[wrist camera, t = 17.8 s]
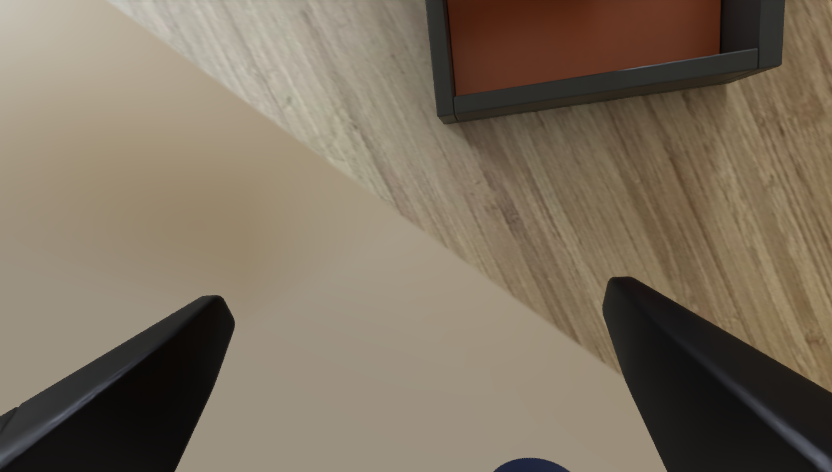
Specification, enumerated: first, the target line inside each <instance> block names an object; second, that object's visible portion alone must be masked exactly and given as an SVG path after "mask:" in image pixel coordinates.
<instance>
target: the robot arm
mask: <svg viewBox="0 0 832 472" xmlns="http://www.w3.org/2000/svg"><path fill="white" fill-rule="evenodd" d="M602 309H603V316H604V319H605V322H606V325H607V328H608V331H609V334H610V337H611V340H612V343H613V346H614V349H615V352H616V355H617V358H618V361H619V364H620V367H621V370H622V373H623V375H624V378H625V381H626V383H627V385H628V388H629V390H630V392H631V395H632V397H633V399H634V401H635V403H636V405H637V407H638V410H639V412H640V414H641V416H642V418H643V420H644V423H645V425H646V427H647V429H648V431H649V433H650V435H651V438H652V440H653V442H654V444H655V446H656V449H657V451H658V453H659V455H660V457H661V459H662V461H663V464H664V466H665V468H666V470H667V472H832V393H831V392H829V391H827V390H826V389H824V388H822V387H821V386H819V385H817V384H815V383H814V382H812V381H810V380H809V379H807V378H805V377H803V376H802V375H800V374H798V373H796V372H795V371H793V370H791V369H790V368H788V367H786V366H784V365H783V364H781V363H779V362H778V361H776V360H774V359H772V358H771V357H769V356H767V355H766V354H764V353H762V352H760V351H759V350H757V349H755V348H754V347H752V346H750V345H748V344H747V343H745V342H743V341H741V340H740V339H738V338H736V337H735V336H733V335H731V334H729V333H728V332H726V331H724V330H723V329H721V328H719V327H717V326H716V325H714V324H712V323H711V322H709V321H707V320H705V319H704V318H702V317H700V316H698V315H697V314H695V313H693V312H692V311H690V310H688V309H686V308H685V307H683V306H681V305H680V304H678V303H676V302H674V301H673V300H671V299H669V298H668V297H666V296H664V295H662V294H661V293H659V292H657V291H655V290H654V289H652V288H650V287H649V286H647V285H645V284H643V283H642V282H640V281H638V280H637V279H635V278H633V277H629V276H625V277H612V278H610V279H609V281H608V284H607V288H606V293H605V297H604V301H603V308H602ZM234 327H235V321H234V318H233V316H232V314H231V312H230V310H229V308H228V306H227V304H226V302H225V301H224V299H223V298H222V297H221V296H218V295H211V296H202V297H200V298H198V299H197V300H195V301H193V302H192V303H190V304H188V305H186V306H185V307H183V308H181V309H180V310H178V311H176V312H175V313H173V314H171V315H170V316H168V317H166V318H165V319H163V320H161V321H160V322H158V323H156V324H154V325H153V326H151V327H149V328H148V329H146V330H145V331H143V332H141V333H139V334H138V335H136V336H134V337H133V338H131V339H130V340H128V341H126V342H124V343H123V344H121V345H119V346H118V347H116V348H114V349H113V350H111V351H109V352H108V353H106V354H104V355H103V356H101V357H99V358H97V359H96V360H94V361H93V362H91V363H89V364H88V365H86V366H84V367H83V368H81V369H79V370H77V371H76V372H74V373H72V374H71V375H69V376H67V377H66V378H64V379H62V380H61V381H59V382H57V383H56V384H54V385H52V386H51V387H49V388H47V389H46V390H44V391H42V392H40V393H39V394H37V395H35V396H34V397H32V398H30V399H29V400H27V401H25V402H24V403H22V404H21V405H20V406H19V407H15V408H14V409H12V410H10V411H8V412H7V413H6V414H3V415H2V416H0V472H175V470H176V468H177V466H178V464H179V462H180V459H181V457H182V455H183V453H184V451H185V448H186V446H187V444H188V442H189V440H190V438H191V436H192V433H193V431H194V429H195V427H196V425H197V423H198V420H199V418H200V416H201V414H202V412H203V409H204V407H205V405H206V403H207V401H208V399H209V397H210V394H211V392H212V389H213V387H214V385H215V382H216V380H217V377H218V374H219V371H220V368H221V365H222V363H223V360H224V357H225V354H226V351H227V348H228V345H229V342H230V340H231V337H232V334H233V331H234Z"/></svg>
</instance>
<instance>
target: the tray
mask: <svg viewBox="0 0 832 472" xmlns="http://www.w3.org/2000/svg"><path fill="white" fill-rule="evenodd" d="M425 1H426V11H427V21H428V31H429V40H430V50H431V60H432V69H433V79H434V89H435V98H436V108H437V116H438V117H439V119H440V120H441V121H442V122H443V124H451V123H458V122H465V121H472V120H479V119H485V118H492V117H499V116H506V115H513V114H520V113H527V112H534V111H541V110H547V109H554V108H561V107H568V106H575V105H582V104H589V103H596V102H603V101H609V100H616V99H623V98H630V97H637V96H644V95H651V94H658V93H664V92H671V91H678V90H685V89H692V88H699V87H706V86H713V85H720V84H726V83H731V82H734V81H737V80H740V79H743V78H746V77H749V76H751V75H754V74H757V73H760V72H763V71H766V70H769V69H772V68H775V67H778V66H780V65H781V64H782V46H783V27H784V8H785V0H425Z"/></svg>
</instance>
